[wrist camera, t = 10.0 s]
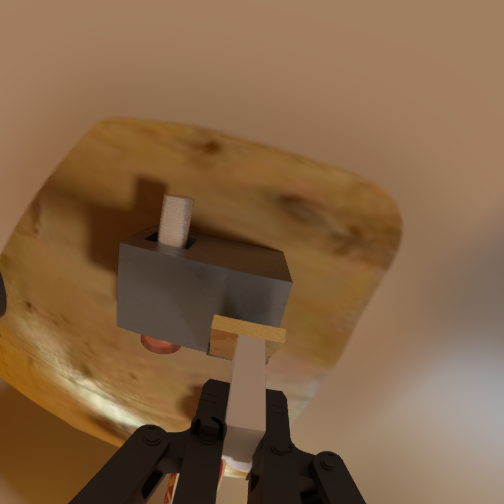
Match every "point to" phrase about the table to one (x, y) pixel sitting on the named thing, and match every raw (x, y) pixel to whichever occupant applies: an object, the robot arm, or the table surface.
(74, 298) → the table surface
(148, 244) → the block
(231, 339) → the tan rectangular plate
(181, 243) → the pin
